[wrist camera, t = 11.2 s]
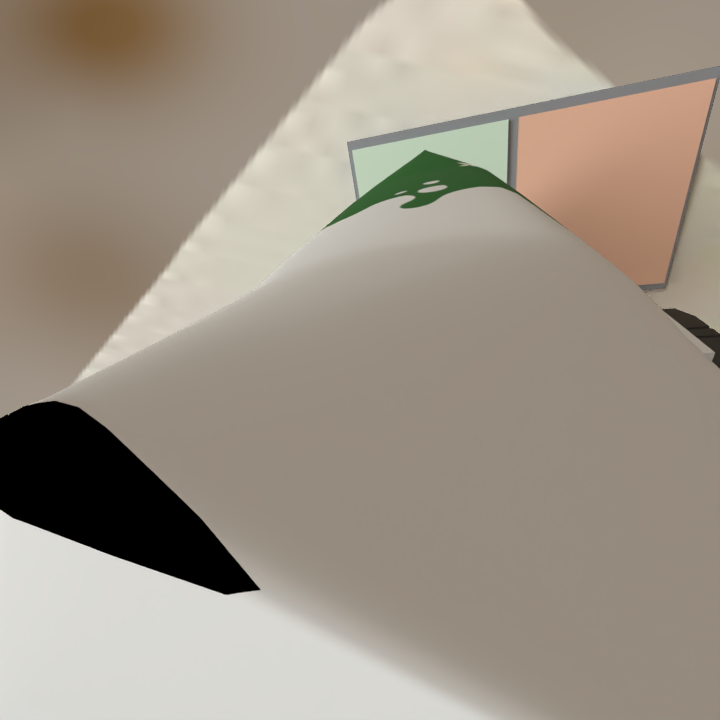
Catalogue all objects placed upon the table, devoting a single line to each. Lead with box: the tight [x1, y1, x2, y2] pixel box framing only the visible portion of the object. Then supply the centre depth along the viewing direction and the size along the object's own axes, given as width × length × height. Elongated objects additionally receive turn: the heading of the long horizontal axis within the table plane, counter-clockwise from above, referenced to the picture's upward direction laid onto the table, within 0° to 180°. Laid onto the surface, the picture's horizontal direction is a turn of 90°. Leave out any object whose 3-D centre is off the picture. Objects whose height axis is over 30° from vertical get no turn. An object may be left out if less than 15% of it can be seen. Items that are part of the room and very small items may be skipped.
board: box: [347, 66, 720, 290], centre depth 24 cm, size 12×20×1 cm, turn 100°
